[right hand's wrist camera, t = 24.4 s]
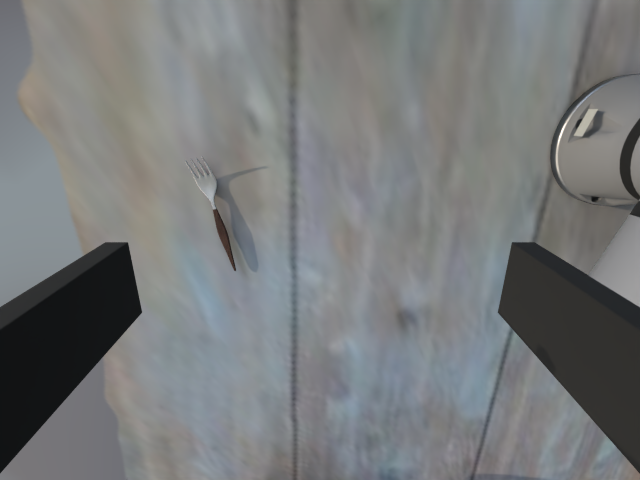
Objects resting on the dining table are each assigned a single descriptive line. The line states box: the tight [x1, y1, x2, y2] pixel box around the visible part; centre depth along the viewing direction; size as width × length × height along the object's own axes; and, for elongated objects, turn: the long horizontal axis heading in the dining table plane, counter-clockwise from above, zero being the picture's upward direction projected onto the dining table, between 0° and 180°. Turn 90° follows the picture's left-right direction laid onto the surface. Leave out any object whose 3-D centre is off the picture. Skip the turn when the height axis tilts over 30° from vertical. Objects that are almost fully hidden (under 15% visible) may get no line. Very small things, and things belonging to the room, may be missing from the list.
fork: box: [185, 157, 236, 271], centre depth 46 cm, size 3×16×2 cm, turn 12°
